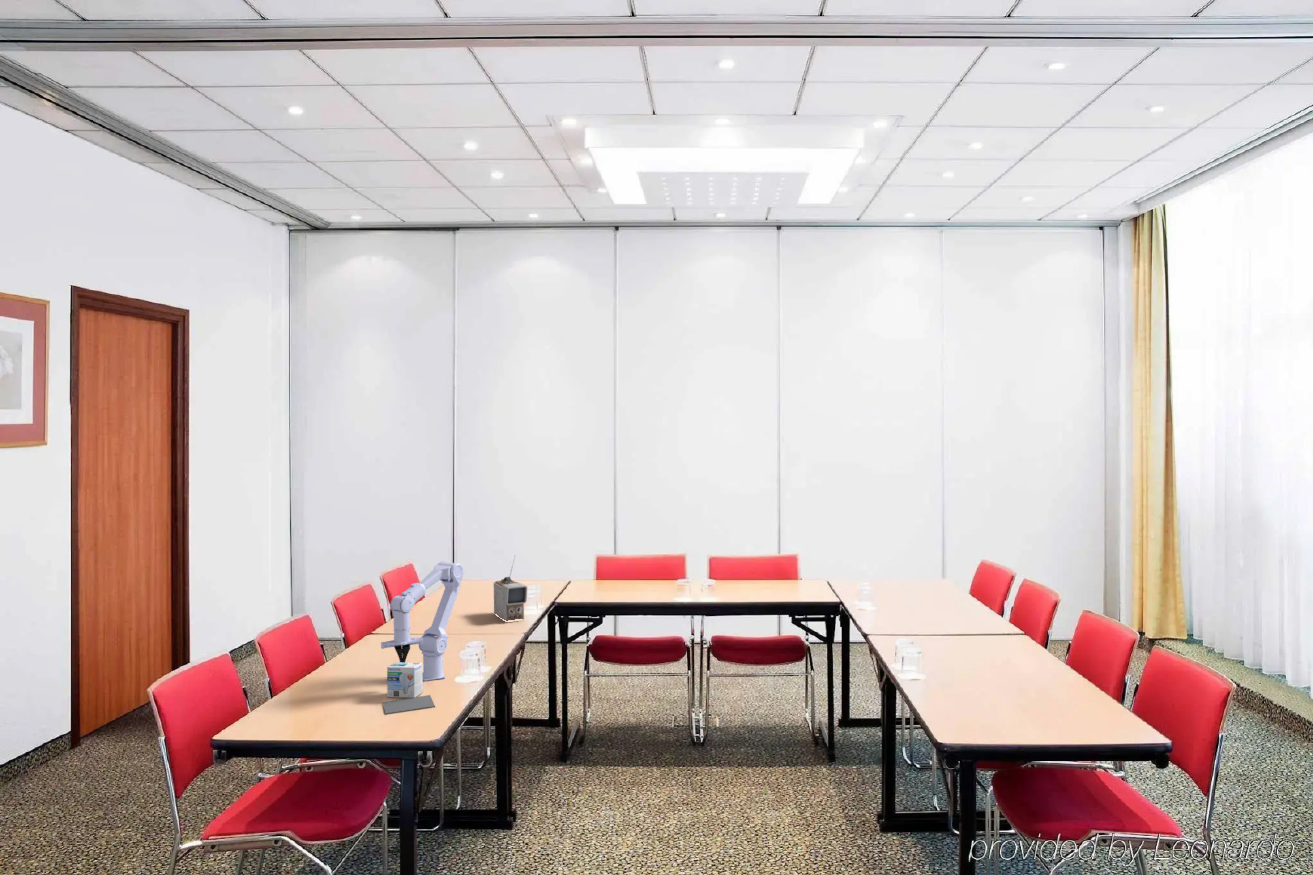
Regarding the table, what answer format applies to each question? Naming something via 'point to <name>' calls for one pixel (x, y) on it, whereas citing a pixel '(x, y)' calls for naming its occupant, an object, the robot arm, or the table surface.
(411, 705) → the mat
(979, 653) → the table surface
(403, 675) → the light bulb box
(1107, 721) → the table surface
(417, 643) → the robot arm
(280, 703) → the table surface
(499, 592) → the portable television
